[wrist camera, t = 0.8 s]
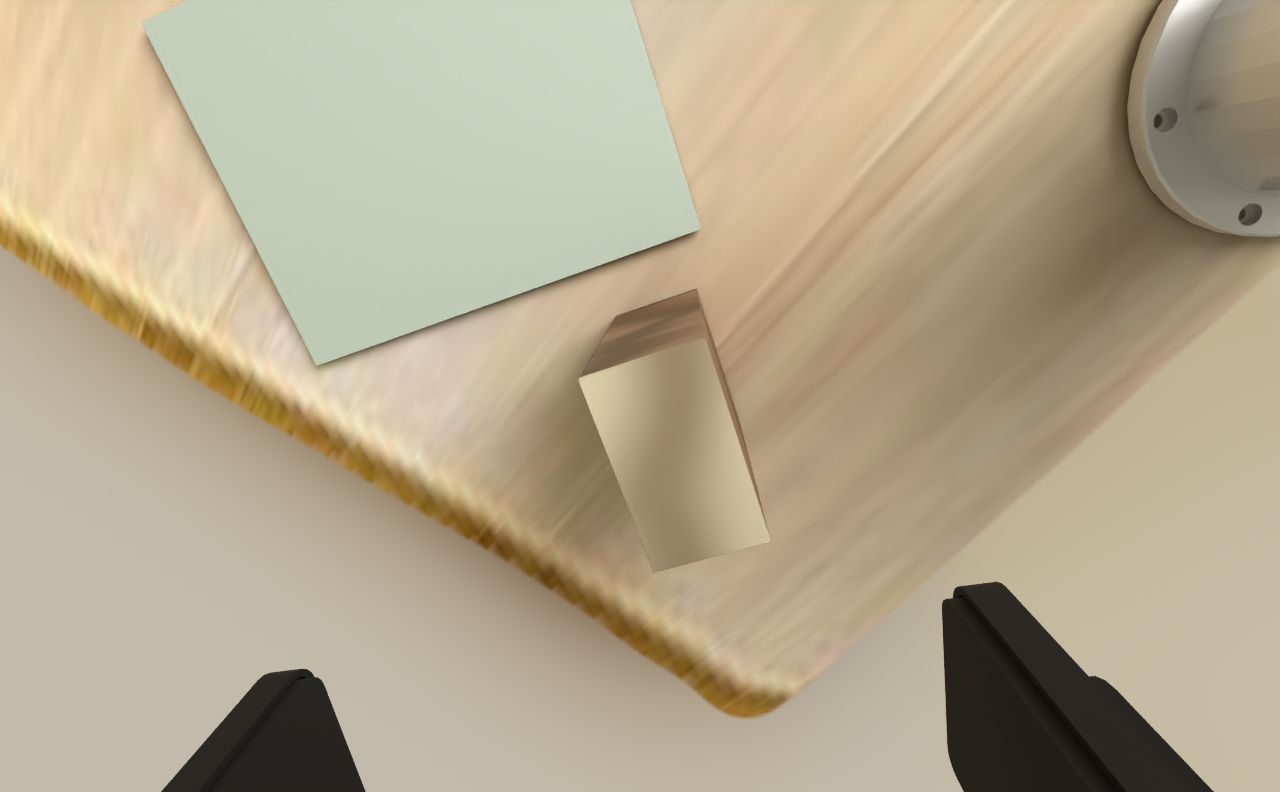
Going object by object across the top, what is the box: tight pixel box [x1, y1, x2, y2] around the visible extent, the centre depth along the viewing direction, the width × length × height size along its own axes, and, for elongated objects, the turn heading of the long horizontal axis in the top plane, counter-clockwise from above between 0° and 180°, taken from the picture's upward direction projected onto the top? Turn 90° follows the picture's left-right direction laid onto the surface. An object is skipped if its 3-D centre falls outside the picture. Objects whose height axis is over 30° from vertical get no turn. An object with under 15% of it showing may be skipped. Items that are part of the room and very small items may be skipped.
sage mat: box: [141, 0, 701, 366], centre depth 27 cm, size 20×16×1 cm
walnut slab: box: [578, 289, 771, 573], centre depth 24 cm, size 4×7×11 cm, turn 19°
